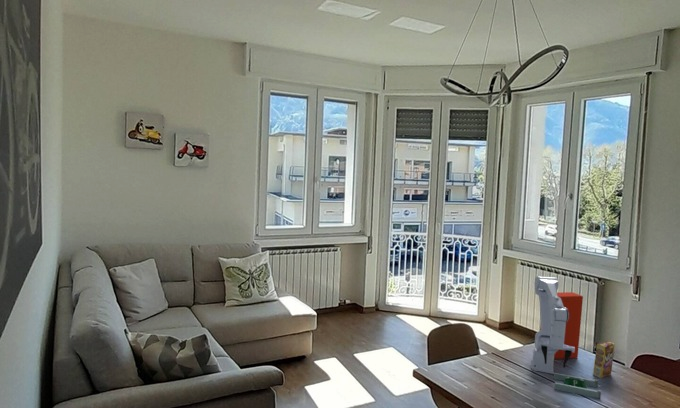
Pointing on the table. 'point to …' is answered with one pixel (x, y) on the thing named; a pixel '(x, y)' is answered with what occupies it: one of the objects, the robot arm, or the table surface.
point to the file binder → (571, 322)
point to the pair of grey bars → (577, 389)
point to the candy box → (603, 359)
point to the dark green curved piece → (575, 382)
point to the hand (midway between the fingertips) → (554, 364)
